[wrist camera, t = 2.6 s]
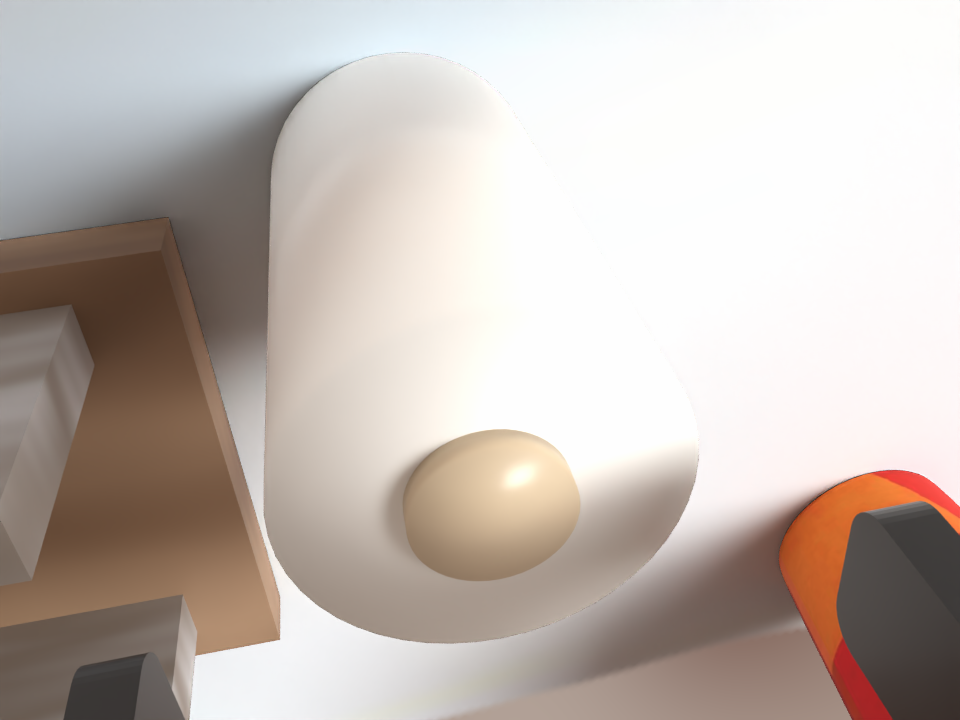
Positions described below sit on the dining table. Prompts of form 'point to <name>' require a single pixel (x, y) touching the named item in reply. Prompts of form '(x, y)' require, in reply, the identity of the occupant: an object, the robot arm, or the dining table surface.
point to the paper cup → (819, 562)
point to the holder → (115, 472)
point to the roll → (452, 370)
